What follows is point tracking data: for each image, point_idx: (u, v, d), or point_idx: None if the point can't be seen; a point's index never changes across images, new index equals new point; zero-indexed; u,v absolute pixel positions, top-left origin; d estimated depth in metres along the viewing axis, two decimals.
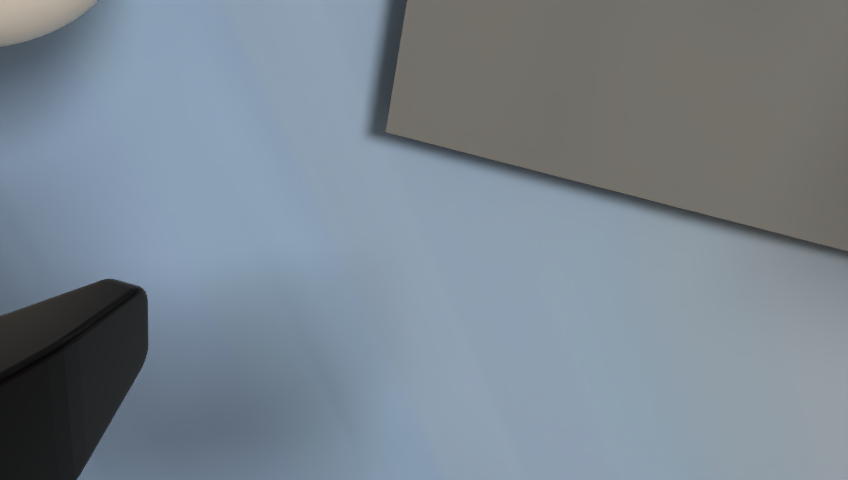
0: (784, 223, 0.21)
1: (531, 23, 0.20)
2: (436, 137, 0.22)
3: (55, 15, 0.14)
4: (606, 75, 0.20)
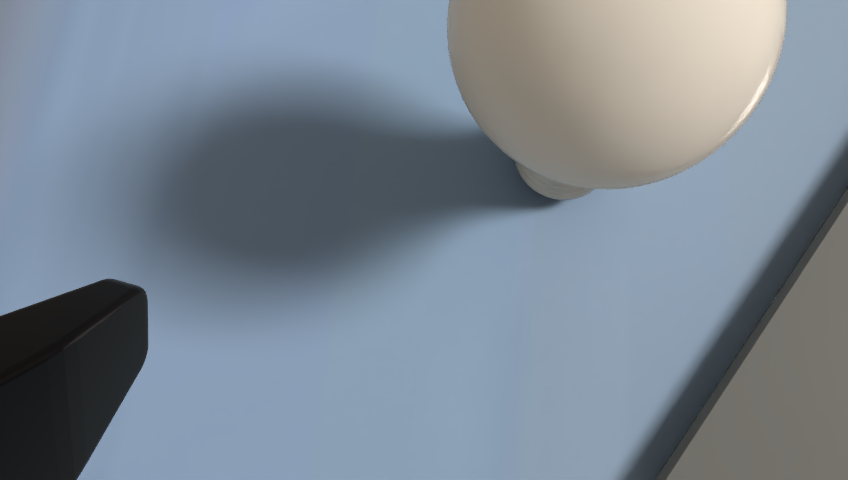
0: None
1: None
2: None
3: (662, 159, 0.14)
4: None
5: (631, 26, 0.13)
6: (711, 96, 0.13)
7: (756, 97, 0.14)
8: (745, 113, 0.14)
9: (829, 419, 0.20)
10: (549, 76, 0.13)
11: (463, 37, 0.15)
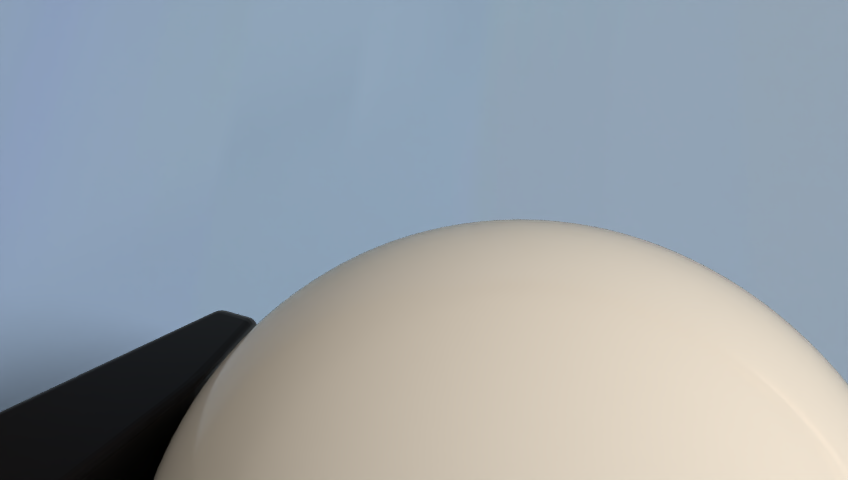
0: None
1: None
2: None
3: None
4: None
5: None
6: None
7: None
8: None
9: None
10: None
11: None
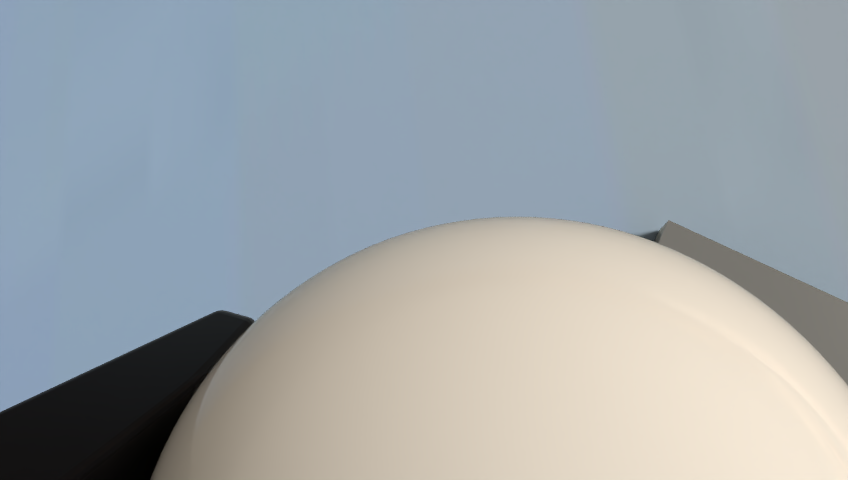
0: None
1: None
2: None
3: None
4: None
5: None
6: None
7: None
8: None
9: None
10: None
11: None
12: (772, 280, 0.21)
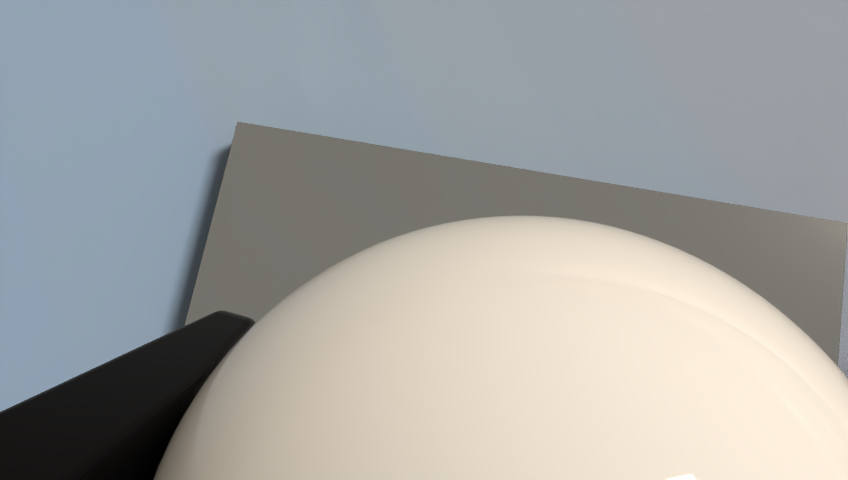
0: None
1: None
2: None
3: None
4: None
5: None
6: None
7: None
8: None
9: None
10: None
11: None
12: (345, 150, 0.21)
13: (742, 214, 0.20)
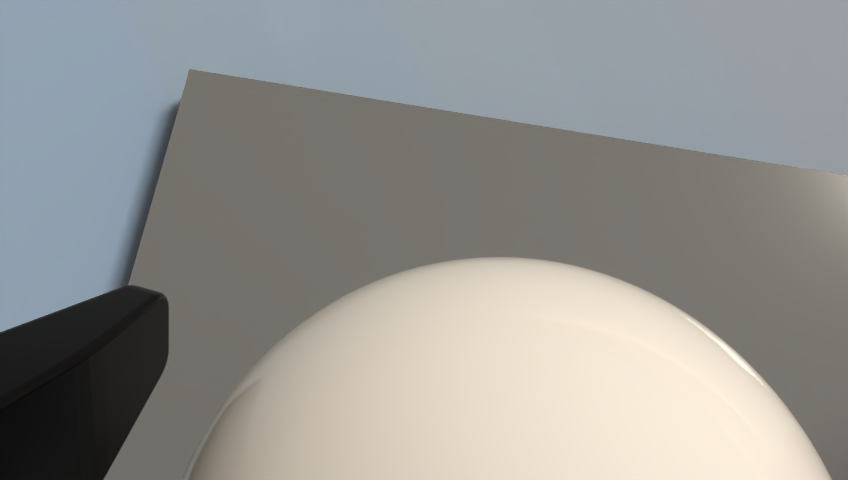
0: None
1: None
2: None
3: None
4: None
5: None
6: None
7: None
8: None
9: None
10: None
11: None
12: (318, 103, 0.18)
13: (800, 178, 0.17)
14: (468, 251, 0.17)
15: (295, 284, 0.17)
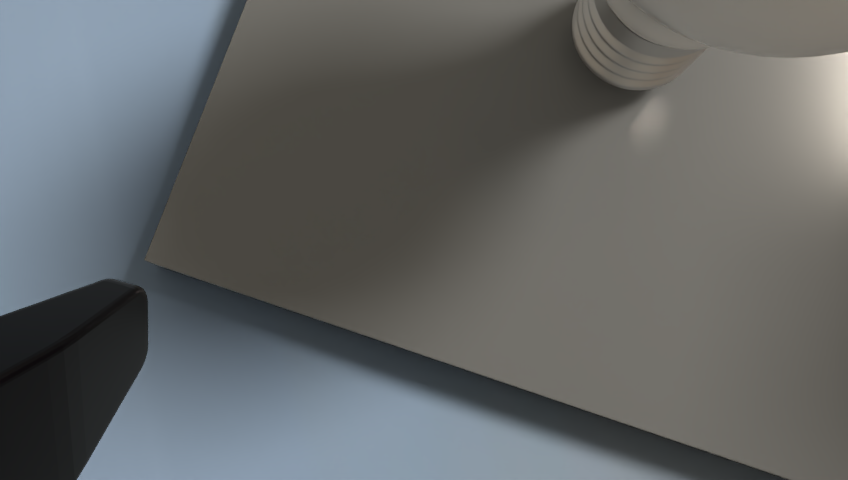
0: (652, 416, 0.16)
1: (354, 138, 0.17)
2: (214, 271, 0.16)
3: None
4: (437, 207, 0.17)
5: None
6: None
7: None
8: None
9: (325, 121, 0.17)
10: None
11: None
12: None
13: None
14: None
15: None
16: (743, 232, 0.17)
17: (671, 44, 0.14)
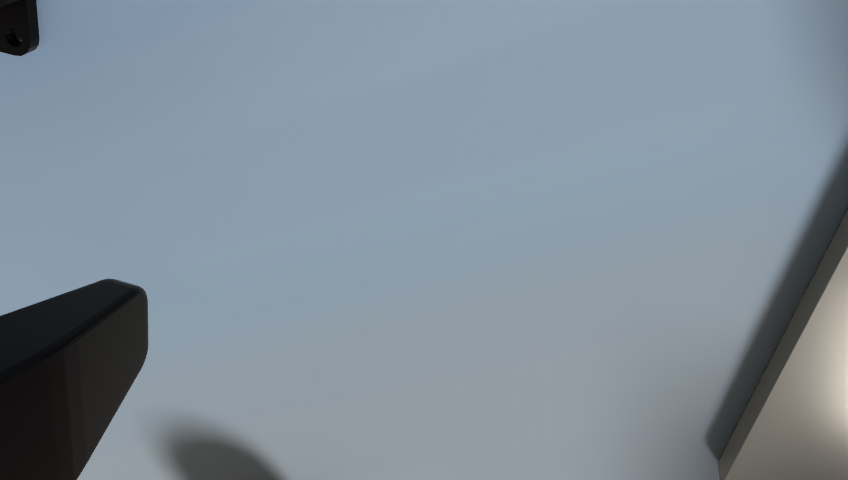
0: (804, 354, 0.21)
1: None
2: None
3: None
4: None
5: None
6: None
7: None
8: None
9: None
10: None
11: None
12: None
13: None
14: None
15: None
16: None
17: None
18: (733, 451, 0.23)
